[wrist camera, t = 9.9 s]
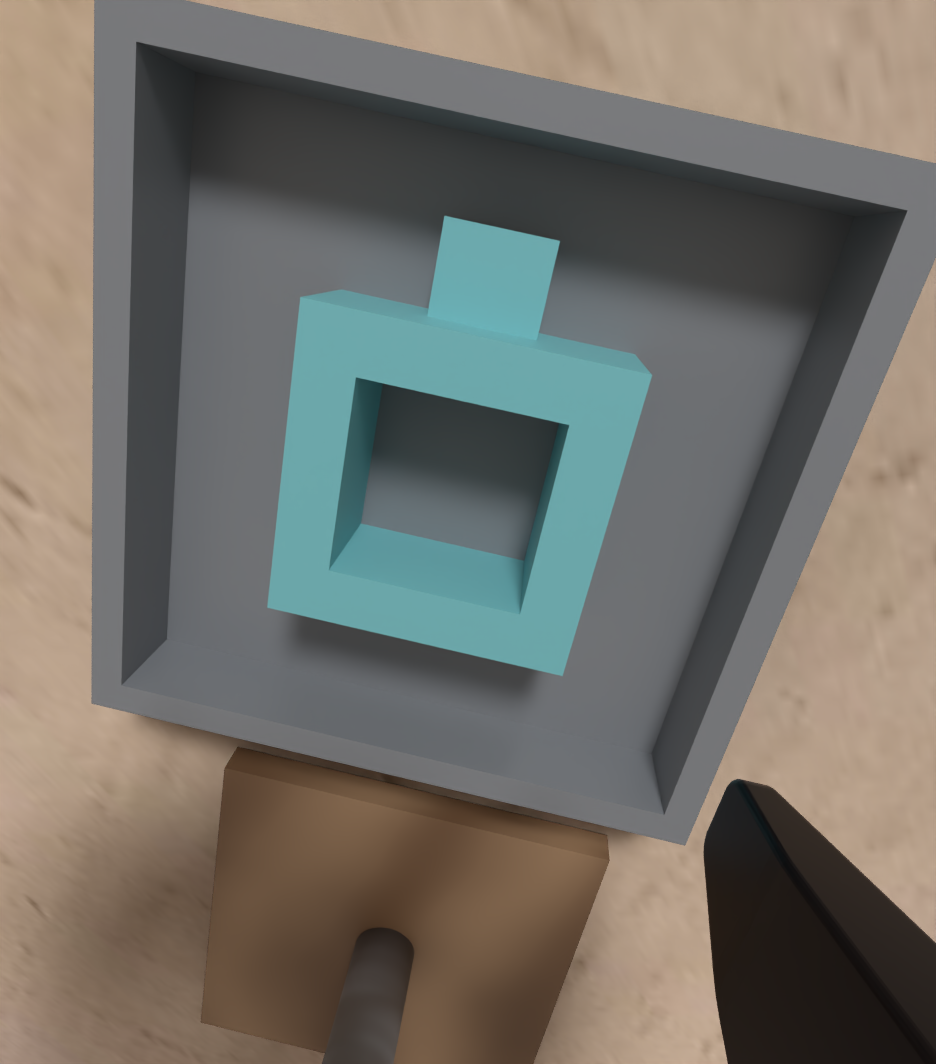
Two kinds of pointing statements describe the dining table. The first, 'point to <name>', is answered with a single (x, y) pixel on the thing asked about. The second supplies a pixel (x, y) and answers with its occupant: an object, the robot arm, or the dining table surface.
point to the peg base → (389, 917)
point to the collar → (471, 376)
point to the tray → (461, 427)
